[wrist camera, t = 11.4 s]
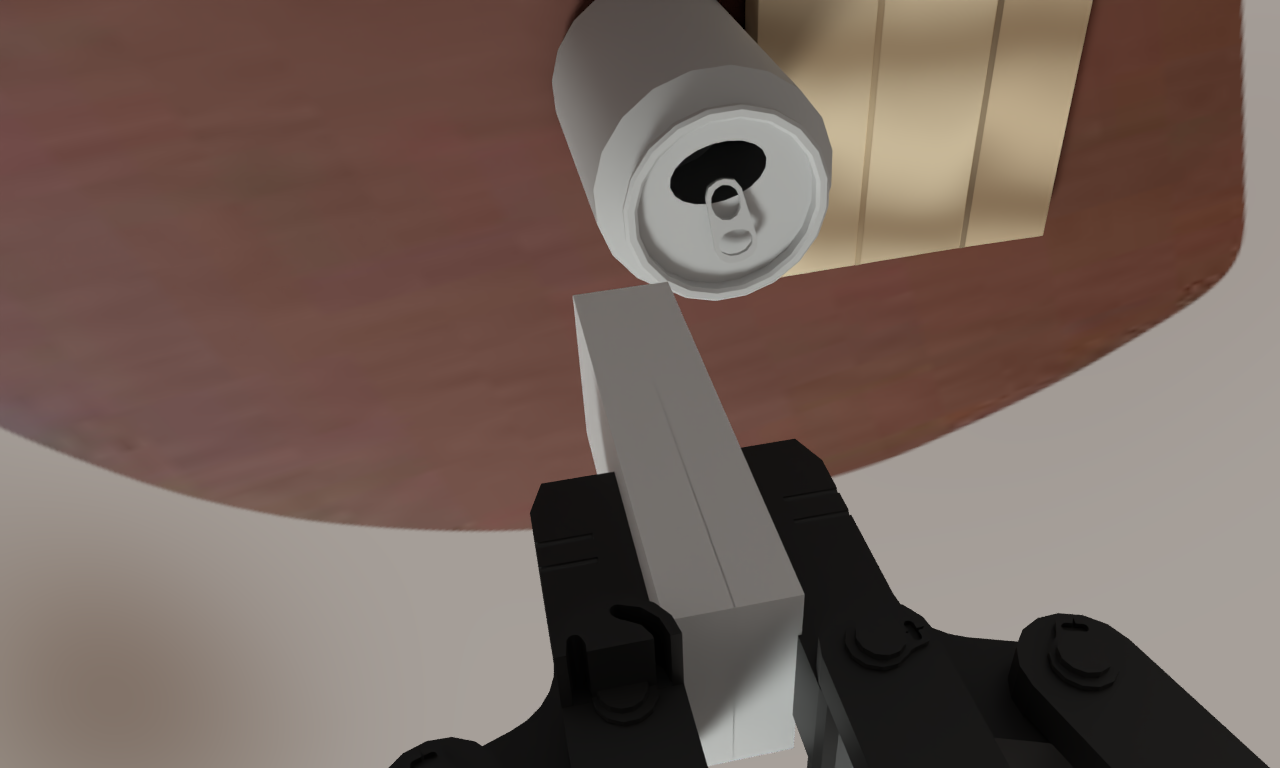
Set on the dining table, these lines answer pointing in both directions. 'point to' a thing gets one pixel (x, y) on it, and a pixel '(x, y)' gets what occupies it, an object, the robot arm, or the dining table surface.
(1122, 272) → the dining table surface
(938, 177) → the plank
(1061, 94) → the laid board
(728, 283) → the can
